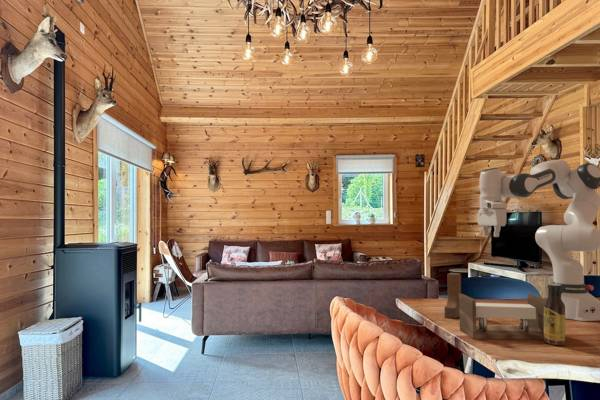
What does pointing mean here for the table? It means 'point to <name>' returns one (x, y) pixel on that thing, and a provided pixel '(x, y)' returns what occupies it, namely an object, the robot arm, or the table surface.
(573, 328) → the table surface
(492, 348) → the table surface
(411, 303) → the table surface
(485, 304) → the white rectangular block
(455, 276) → the wooden block
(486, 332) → the brown open-topped frame
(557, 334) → the sauce bottle
